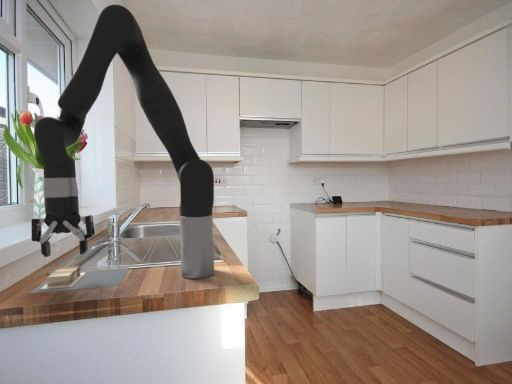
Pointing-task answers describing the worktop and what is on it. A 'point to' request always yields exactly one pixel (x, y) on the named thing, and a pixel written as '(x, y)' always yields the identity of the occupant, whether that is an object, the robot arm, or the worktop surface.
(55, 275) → the birch tile
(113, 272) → the rubber mat
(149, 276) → the worktop surface
